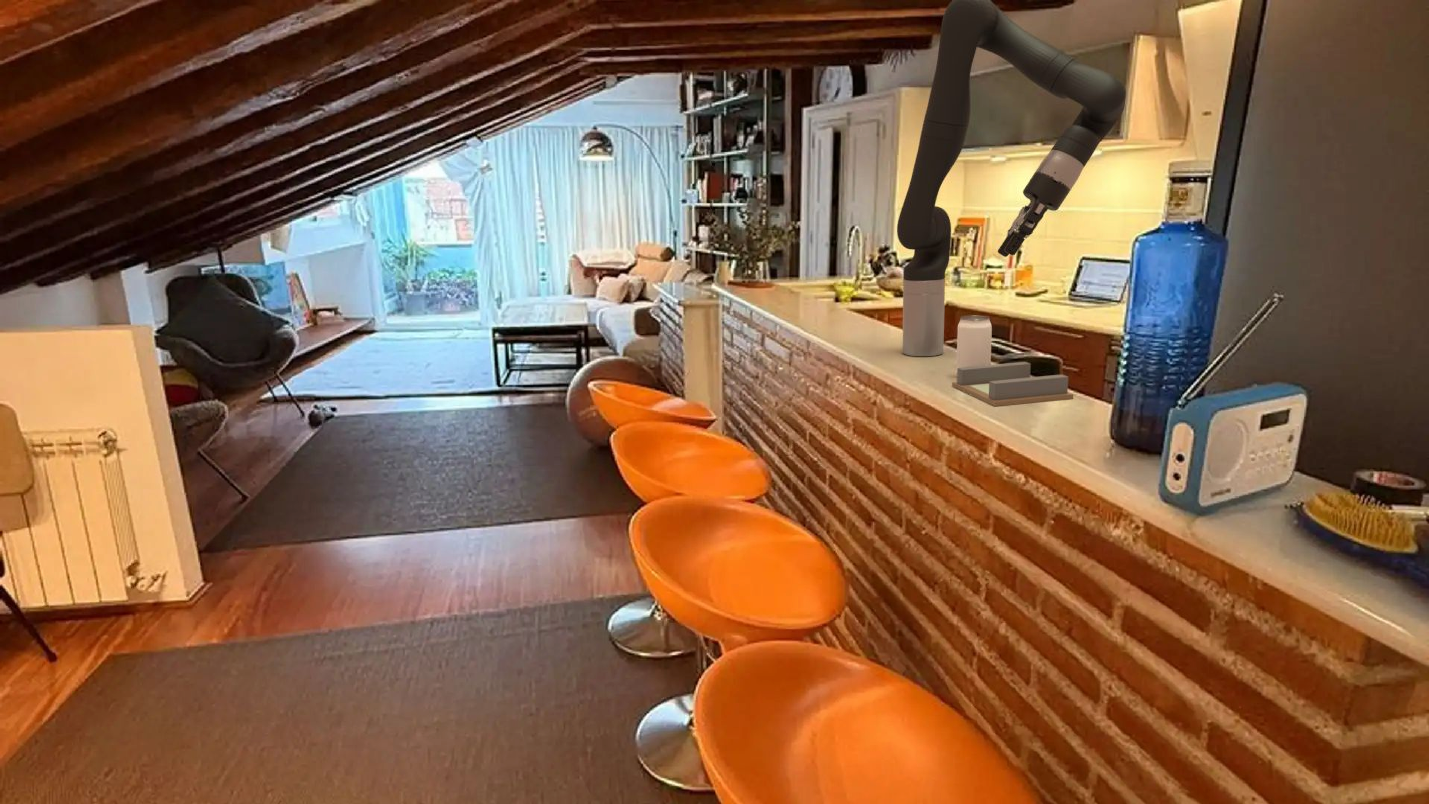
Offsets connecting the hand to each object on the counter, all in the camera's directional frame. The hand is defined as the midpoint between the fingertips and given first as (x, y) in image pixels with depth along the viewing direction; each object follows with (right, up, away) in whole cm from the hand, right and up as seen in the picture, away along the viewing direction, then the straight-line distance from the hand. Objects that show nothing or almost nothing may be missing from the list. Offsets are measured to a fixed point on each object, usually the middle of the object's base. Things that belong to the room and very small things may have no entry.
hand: (1005, 254), depth 157 cm
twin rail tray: (-3, -28, -10) cm, 29 cm away
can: (-5, -24, +3) cm, 25 cm away
